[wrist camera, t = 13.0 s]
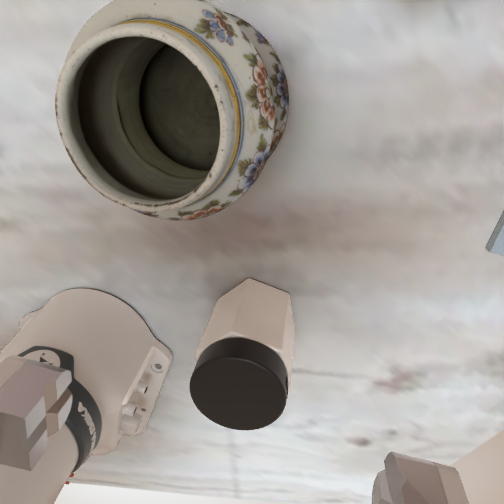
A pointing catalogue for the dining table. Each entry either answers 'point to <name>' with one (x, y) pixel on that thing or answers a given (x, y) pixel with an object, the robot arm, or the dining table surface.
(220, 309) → the jar
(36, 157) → the dining table surface
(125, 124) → the apothecary jar
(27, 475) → the robot arm
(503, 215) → the cradle stand
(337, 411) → the dining table surface
